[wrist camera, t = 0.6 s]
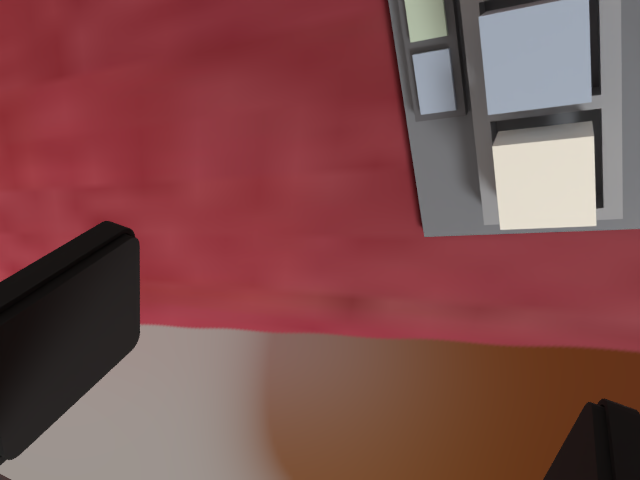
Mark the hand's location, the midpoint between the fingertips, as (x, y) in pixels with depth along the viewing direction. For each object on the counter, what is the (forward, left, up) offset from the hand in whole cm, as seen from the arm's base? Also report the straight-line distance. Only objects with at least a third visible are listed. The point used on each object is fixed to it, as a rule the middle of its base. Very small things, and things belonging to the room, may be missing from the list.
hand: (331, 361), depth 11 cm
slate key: (-1, -4, -19) cm, 19 cm away
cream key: (-4, 0, -19) cm, 19 cm away
